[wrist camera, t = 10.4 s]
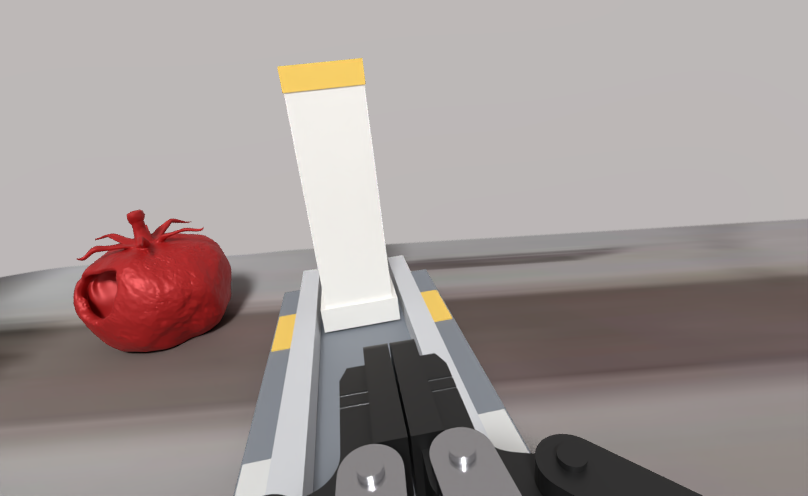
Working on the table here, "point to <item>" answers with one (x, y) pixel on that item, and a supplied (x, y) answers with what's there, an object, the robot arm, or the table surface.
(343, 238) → the switch tab
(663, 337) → the table surface
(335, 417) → the switch plate
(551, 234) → the table surface
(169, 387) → the table surface
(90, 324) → the red round fruit
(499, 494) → the robot arm
